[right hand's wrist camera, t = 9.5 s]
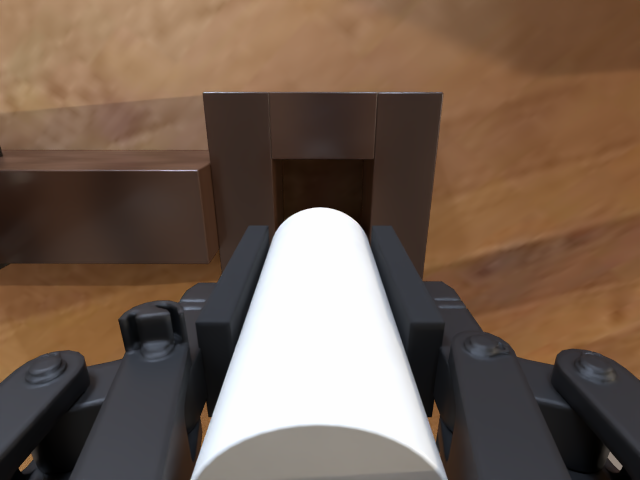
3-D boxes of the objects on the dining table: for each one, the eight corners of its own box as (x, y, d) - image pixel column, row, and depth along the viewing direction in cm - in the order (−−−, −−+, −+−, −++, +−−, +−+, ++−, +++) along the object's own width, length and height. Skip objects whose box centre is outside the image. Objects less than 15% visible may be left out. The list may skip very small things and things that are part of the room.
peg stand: (-28, 266, 27) (-137, 319, 21) (-94, 92, 23) (-257, 91, 17) (403, 267, 27) (428, 321, 21) (419, 92, 23) (457, 91, 16)
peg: (267, 207, 14) (163, 421, 5) (372, 207, 14) (475, 422, 5) (272, 299, 16) (199, 603, 6) (367, 299, 16) (438, 604, 6)
